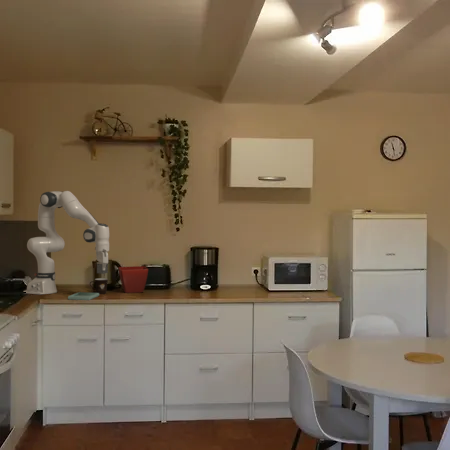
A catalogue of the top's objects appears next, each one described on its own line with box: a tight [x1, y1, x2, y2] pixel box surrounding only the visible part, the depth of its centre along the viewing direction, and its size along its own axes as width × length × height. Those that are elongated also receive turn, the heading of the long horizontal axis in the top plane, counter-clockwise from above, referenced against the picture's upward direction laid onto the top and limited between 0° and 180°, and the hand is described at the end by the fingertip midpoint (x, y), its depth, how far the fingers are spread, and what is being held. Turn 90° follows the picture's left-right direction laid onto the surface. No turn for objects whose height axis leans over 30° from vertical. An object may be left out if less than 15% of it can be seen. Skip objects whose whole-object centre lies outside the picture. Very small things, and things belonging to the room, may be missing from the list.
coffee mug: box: [89, 277, 109, 295], centre depth 391 cm, size 12×9×10 cm
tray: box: [67, 291, 100, 301], centre depth 374 cm, size 15×17×2 cm
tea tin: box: [96, 261, 109, 275], centre depth 370 cm, size 5×5×7 cm
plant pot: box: [118, 265, 149, 294], centre depth 400 cm, size 19×19×17 cm
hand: (102, 269), depth 370 cm, fingers closed on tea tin, 7 cm apart
